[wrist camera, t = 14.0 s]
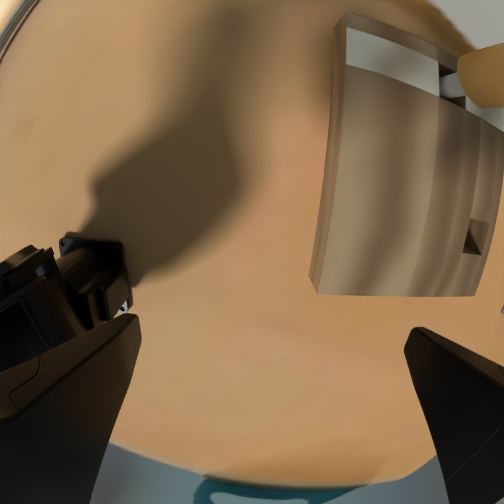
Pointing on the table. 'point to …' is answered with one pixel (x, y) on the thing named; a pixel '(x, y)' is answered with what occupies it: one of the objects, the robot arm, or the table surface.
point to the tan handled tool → (477, 78)
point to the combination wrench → (14, 21)
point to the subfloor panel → (403, 171)
